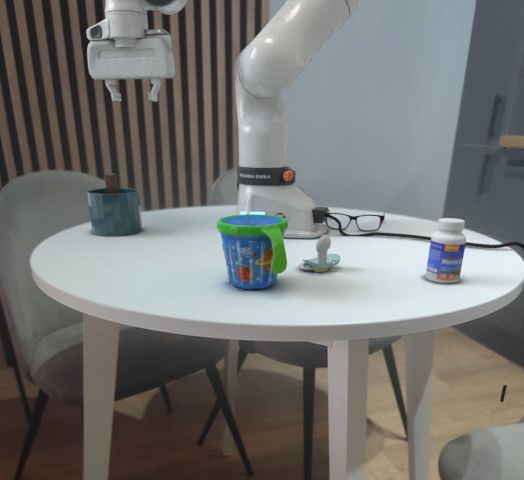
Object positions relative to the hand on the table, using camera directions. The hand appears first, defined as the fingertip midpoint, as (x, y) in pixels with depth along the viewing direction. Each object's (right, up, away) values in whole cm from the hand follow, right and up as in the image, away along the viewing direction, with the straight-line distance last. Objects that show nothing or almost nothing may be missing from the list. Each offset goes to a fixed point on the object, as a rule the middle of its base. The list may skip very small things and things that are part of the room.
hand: (134, 101), depth 114 cm
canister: (-5, -29, +2) cm, 30 cm away
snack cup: (+28, -47, -34) cm, 64 cm away
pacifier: (+39, -43, -26) cm, 64 cm away
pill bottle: (+59, -45, -31) cm, 81 cm away
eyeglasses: (+52, -26, +10) cm, 59 cm away
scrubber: (-5, -29, +2) cm, 29 cm away
